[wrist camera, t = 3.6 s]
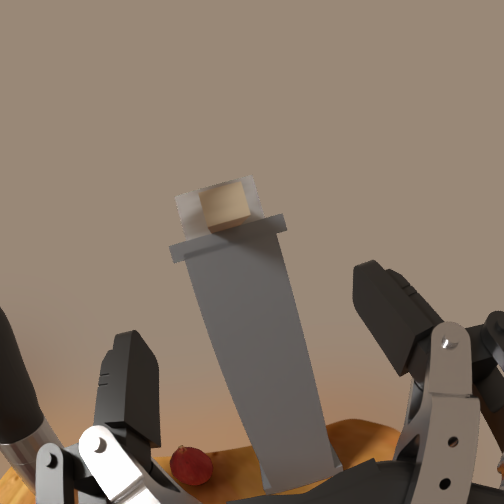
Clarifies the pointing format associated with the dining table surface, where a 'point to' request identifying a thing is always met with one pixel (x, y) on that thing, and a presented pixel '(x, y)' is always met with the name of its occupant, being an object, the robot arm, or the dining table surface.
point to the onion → (191, 466)
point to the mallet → (219, 207)
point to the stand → (261, 349)
